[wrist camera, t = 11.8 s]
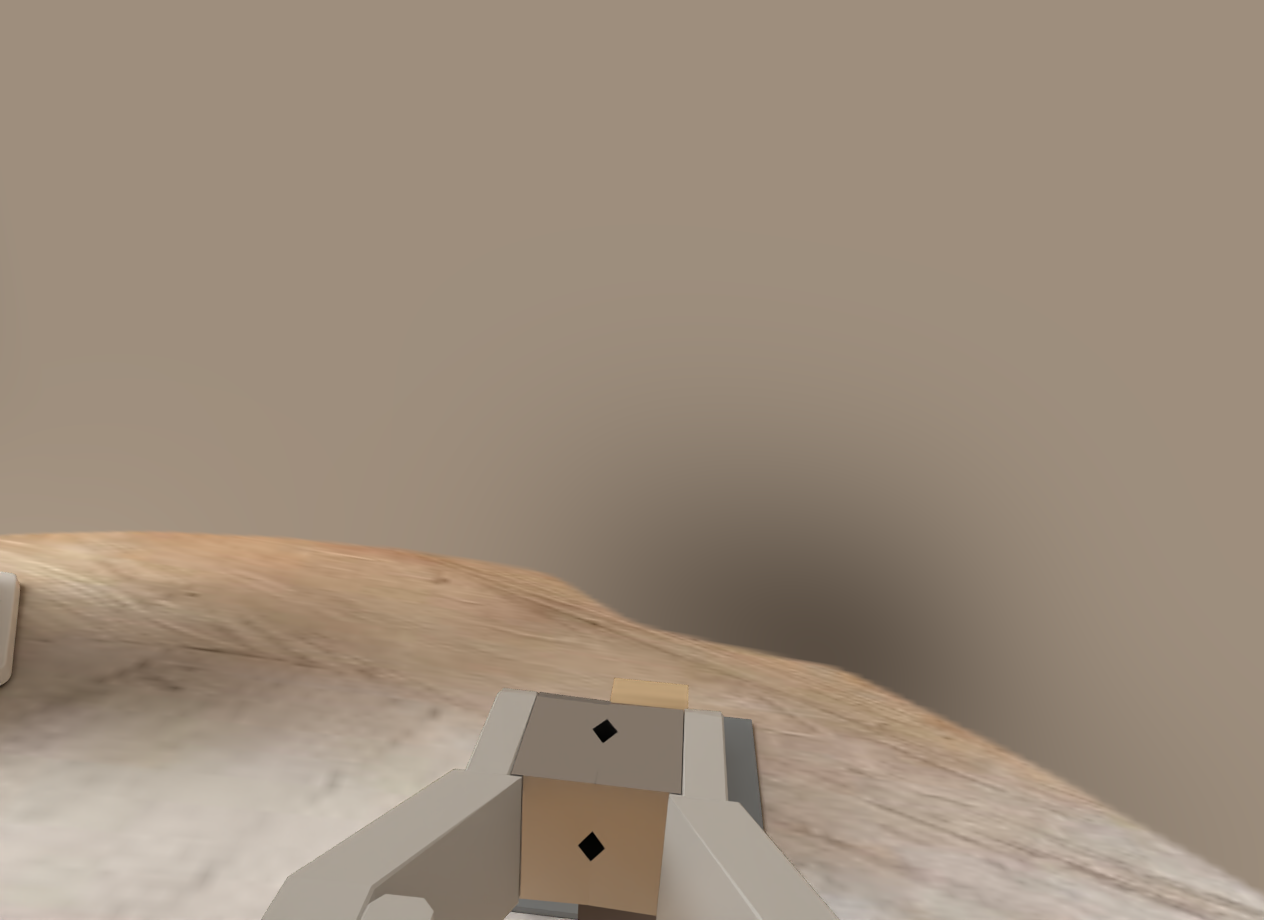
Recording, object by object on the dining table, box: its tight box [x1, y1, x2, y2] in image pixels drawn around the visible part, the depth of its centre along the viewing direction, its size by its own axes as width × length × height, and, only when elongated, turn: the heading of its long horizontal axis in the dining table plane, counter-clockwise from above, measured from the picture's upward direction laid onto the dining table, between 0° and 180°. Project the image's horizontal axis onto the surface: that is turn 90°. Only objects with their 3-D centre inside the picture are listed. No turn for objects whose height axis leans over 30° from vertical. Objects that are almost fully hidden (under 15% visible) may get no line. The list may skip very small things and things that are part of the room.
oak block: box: [578, 678, 688, 920], centre depth 34 cm, size 4×4×12 cm
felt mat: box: [511, 717, 764, 919], centre depth 37 cm, size 14×12×1 cm
